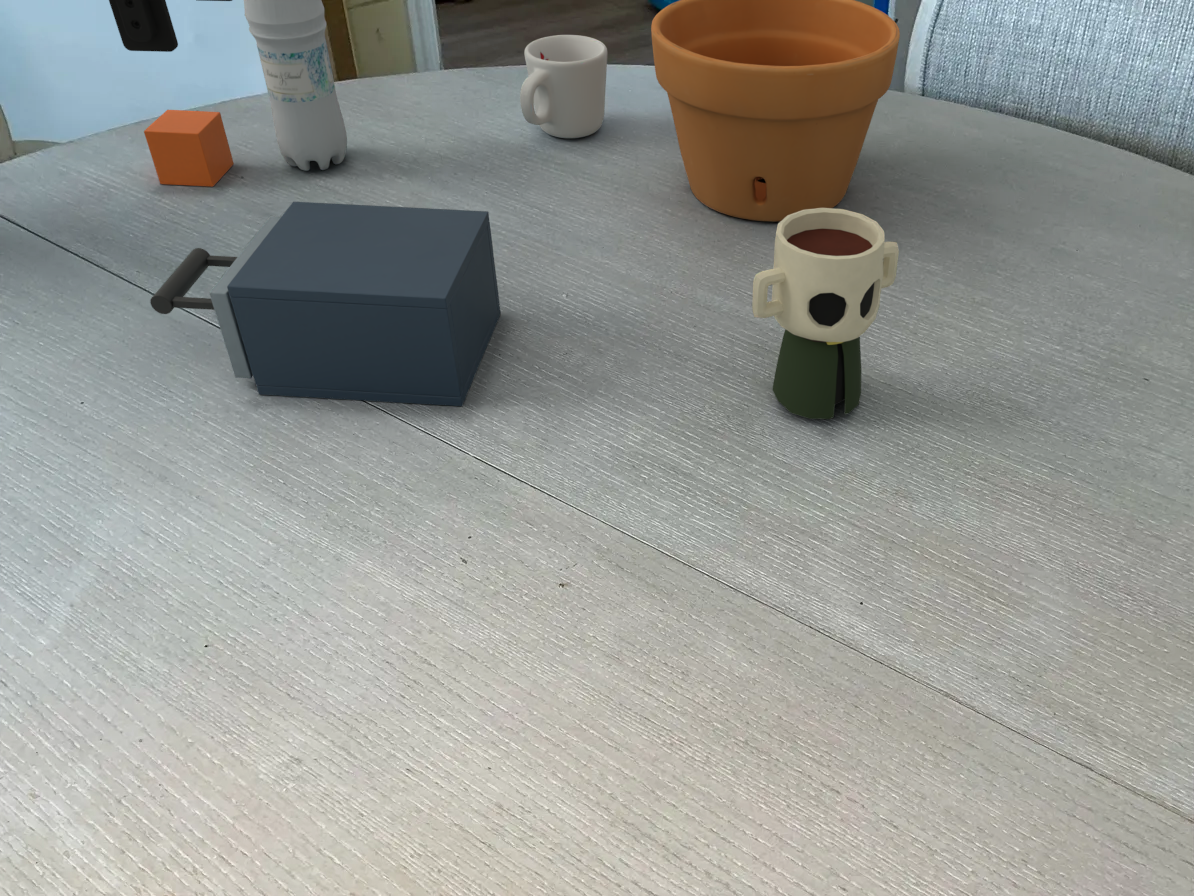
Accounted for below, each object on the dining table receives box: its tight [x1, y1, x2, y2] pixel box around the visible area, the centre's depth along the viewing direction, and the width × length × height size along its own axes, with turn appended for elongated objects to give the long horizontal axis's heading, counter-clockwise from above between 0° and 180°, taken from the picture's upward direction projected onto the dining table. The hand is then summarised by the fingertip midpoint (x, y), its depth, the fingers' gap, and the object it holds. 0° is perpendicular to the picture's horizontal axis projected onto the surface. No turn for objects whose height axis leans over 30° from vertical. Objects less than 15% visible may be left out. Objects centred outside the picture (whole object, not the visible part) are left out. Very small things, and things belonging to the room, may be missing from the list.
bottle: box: [243, 0, 348, 171], centre depth 105 cm, size 7×7×20 cm
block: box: [143, 109, 235, 188], centre depth 108 cm, size 5×5×5 cm
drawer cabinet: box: [227, 201, 502, 407], centre depth 84 cm, size 15×13×9 cm
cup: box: [519, 34, 608, 139], centre depth 115 cm, size 11×8×8 cm
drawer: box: [149, 215, 282, 379], centre depth 85 cm, size 19×11×7 cm, turn 86°
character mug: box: [751, 207, 900, 420], centre depth 79 cm, size 11×7×13 cm, turn 117°
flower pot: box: [650, 0, 901, 223], centre depth 104 cm, size 21×21×15 cm
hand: (184, 23), depth 76 cm, fingers open, 9 cm apart
